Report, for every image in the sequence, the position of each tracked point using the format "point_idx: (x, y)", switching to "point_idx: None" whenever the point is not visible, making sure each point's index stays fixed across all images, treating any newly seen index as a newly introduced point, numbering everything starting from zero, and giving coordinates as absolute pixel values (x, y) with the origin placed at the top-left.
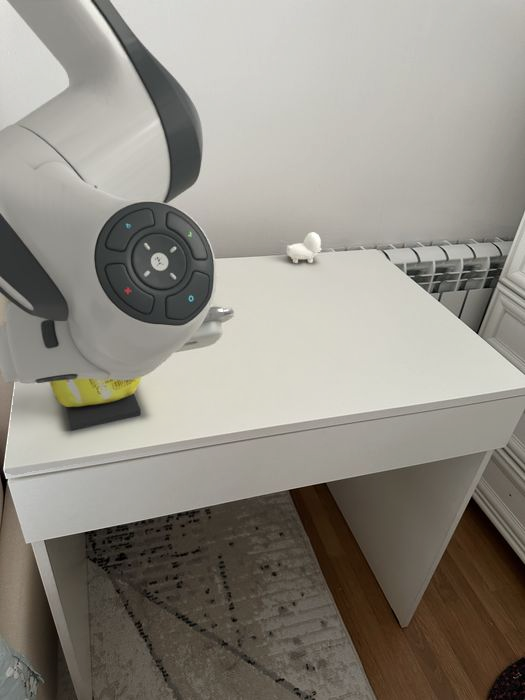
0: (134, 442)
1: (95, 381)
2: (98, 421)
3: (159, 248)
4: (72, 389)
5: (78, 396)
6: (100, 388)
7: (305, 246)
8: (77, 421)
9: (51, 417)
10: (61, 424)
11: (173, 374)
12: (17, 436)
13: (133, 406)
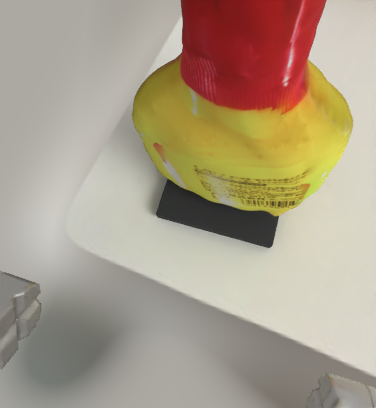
0: (228, 301)
1: (211, 187)
2: (199, 227)
3: None
4: (172, 173)
5: (181, 183)
6: (218, 195)
7: None
8: (169, 211)
9: (147, 172)
10: (152, 194)
11: (372, 184)
12: (89, 183)
13: (265, 231)
